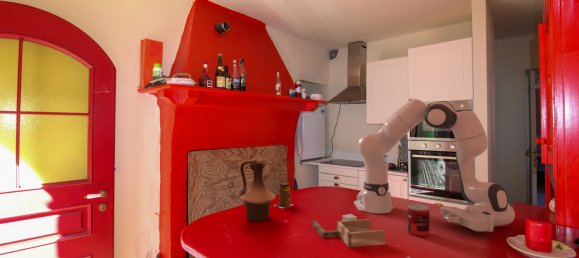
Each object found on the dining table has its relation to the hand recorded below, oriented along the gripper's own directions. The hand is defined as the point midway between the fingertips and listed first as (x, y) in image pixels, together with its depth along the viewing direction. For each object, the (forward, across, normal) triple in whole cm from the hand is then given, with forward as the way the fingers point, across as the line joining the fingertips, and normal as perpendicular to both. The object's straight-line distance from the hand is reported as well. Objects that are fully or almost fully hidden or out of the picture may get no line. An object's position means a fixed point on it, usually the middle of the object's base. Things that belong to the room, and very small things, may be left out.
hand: (445, 218), depth 113 cm
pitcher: (+75, -32, +5) cm, 82 cm away
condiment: (+60, -49, +5) cm, 78 cm away
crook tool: (+48, -10, +5) cm, 49 cm away
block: (+36, -13, +5) cm, 39 cm away
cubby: (+37, 0, +5) cm, 37 cm away
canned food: (+12, 0, +5) cm, 13 cm away
